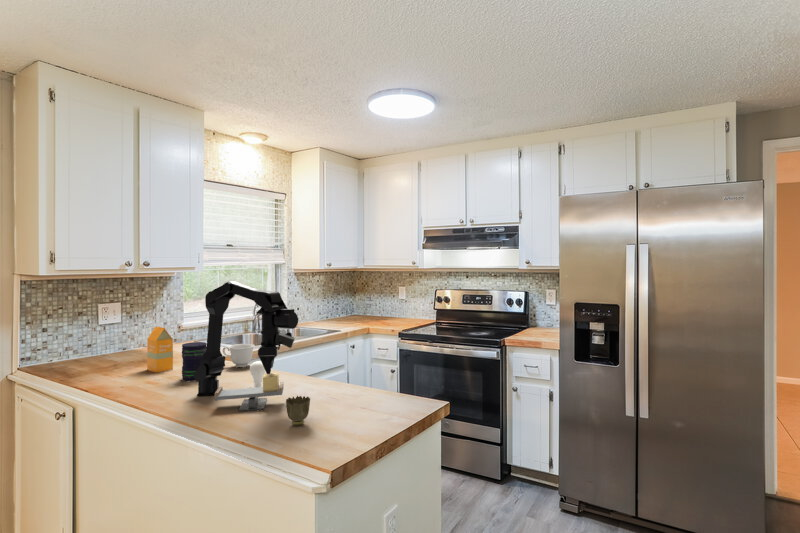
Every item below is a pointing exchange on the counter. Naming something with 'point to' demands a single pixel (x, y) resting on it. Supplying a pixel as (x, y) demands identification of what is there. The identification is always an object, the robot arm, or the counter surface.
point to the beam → (245, 393)
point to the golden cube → (271, 382)
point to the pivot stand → (253, 404)
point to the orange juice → (159, 350)
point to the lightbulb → (257, 373)
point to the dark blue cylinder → (191, 359)
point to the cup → (297, 409)
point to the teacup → (240, 354)
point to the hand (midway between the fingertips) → (269, 370)
